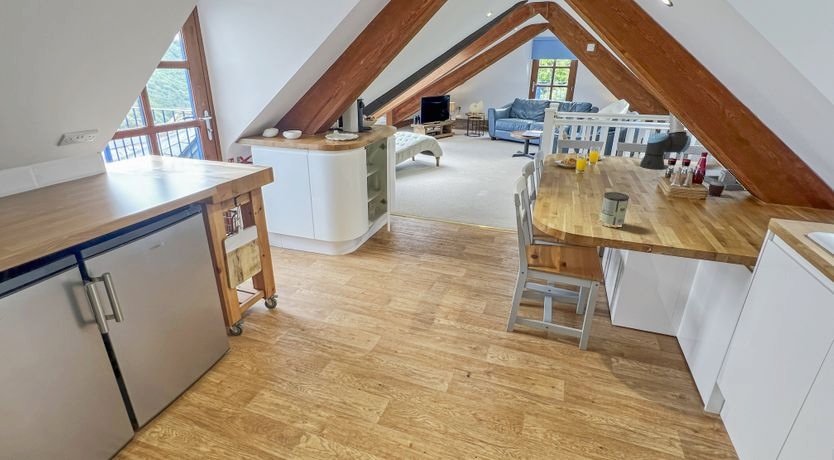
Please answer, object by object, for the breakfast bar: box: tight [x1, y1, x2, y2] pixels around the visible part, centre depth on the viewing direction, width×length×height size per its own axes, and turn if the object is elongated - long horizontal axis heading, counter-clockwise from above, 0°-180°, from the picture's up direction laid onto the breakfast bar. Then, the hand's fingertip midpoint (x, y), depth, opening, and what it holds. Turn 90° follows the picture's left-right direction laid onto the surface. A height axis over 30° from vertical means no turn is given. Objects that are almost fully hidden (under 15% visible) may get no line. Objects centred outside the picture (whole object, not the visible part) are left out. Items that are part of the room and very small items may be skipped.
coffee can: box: [599, 191, 630, 225], centre depth 188 cm, size 10×10×14 cm
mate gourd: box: [707, 172, 727, 198], centre depth 229 cm, size 8×8×15 cm
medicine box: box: [718, 169, 736, 184], centre depth 249 cm, size 8×4×9 cm, turn 89°
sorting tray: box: [704, 175, 745, 191], centre depth 250 cm, size 20×15×4 cm
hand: (710, 130), depth 253 cm, fingers open, 13 cm apart
